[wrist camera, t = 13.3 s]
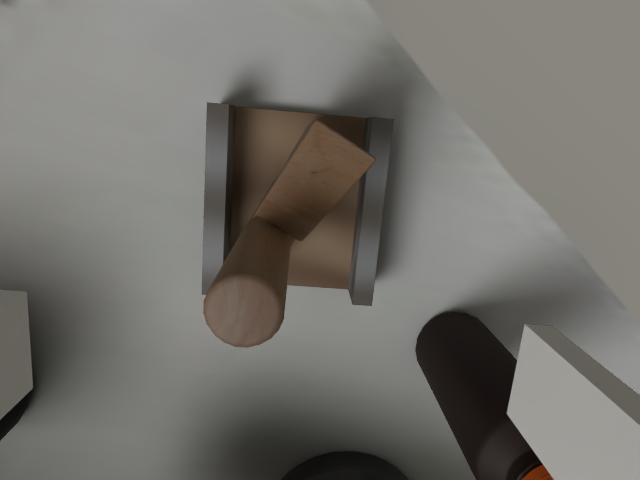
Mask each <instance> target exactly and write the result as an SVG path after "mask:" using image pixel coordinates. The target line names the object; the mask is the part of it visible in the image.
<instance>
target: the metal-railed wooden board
mask: <svg viewBox="0 0 640 480" xmlns="http://www.w3.org/2000/svg"><path fill="white" fill-rule="evenodd" d="M316 119H317V120H320V121H322V122H323V123H325V124H326V125H328V126H329V127H331V128H332V129H334V130H335V131H337V132H338V133H340V134H341V135H343V136H344V137H346V138H347V139H349V140H350V141H352V142H353V143H355V144H356V145H358V146H359V147H361V148H362V149H364V150H365V151H367V152H368V153H370V154H371V155H373V156H374V157H375V158H376V161H375V162H374V164H373V165H372V166H371V167H370V168H369V169H368V170H367V171H366V172H365V173H364V174H363V176H362V177H361V178H360V179H359V180H358V181H357V182H356V183H355V184H354V185H353V186H352V188H351V189H350V190H349V191H348V192H347V193H346V194H345V195H344V196H343V197H342V199H341V200H340V201H339V202H338V203H337V204H336V205H335V206H334V207H333V208H332V209H331V211H330V212H329V213H328V214H327V215H326V216H325V217H324V218H323V219H322V220H321V221H320V223H319V224H318V225H317V226H316V227H315V228H314V229H313V230H312V231H311V232H310V234H309V235H308V236H307V237H306V238H305V239H304V240H303V241H299V240H297V239H295V241H294V242H293V244H292V245H291V248H290V259H289V269H288V280H287V285H294V286H309V287H323V288H338V289H348V290H349V294H350V297H351V301H352V304H353V305H367V306H372V300H373V292H374V283H375V275H376V266H377V258H378V249H379V241H380V232H381V224H382V215H383V207H384V198H385V190H386V182H387V173H388V165H389V156H390V148H391V139H392V131H393V122H394V119H386V118H375V117H371V118H357V117H346V116H335V115H324V114H312V113H301V112H290V111H279V110H268V109H256V108H245V107H235V106H232V105H229V104H218V103H207V121H206V158H205V195H204V231H203V268H202V295H207V292H208V290H209V288H210V286H211V284H212V283H213V281H214V279H215V277H216V276H217V274H218V272H219V271H220V269H221V267H222V265H223V264H224V262H225V260H226V258H227V257H228V255H229V253H230V251H231V250H232V248H233V246H234V245H235V243H236V241H237V239H238V238H239V236H240V234H241V232H242V231H243V229H244V227H245V226H246V224H247V223H248V222H249V220H250V218H251V217H252V215H253V214H254V212H255V210H256V209H257V207H258V206H259V204H260V202H261V201H262V199H263V197H264V196H265V194H266V193H267V191H268V189H269V188H270V186H271V185H272V183H273V182H274V181H275V180H276V179H277V177H278V176H279V174H280V172H281V171H282V169H283V168H284V166H285V164H286V161H287V159H288V157H289V155H290V154H291V152H292V151H293V149H294V147H295V146H296V144H297V142H298V141H299V139H300V138H301V136H302V134H303V133H304V131H305V129H306V128H307V126H308V125H309V124H310V123H311V122H313V121H314V120H316Z"/></svg>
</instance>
